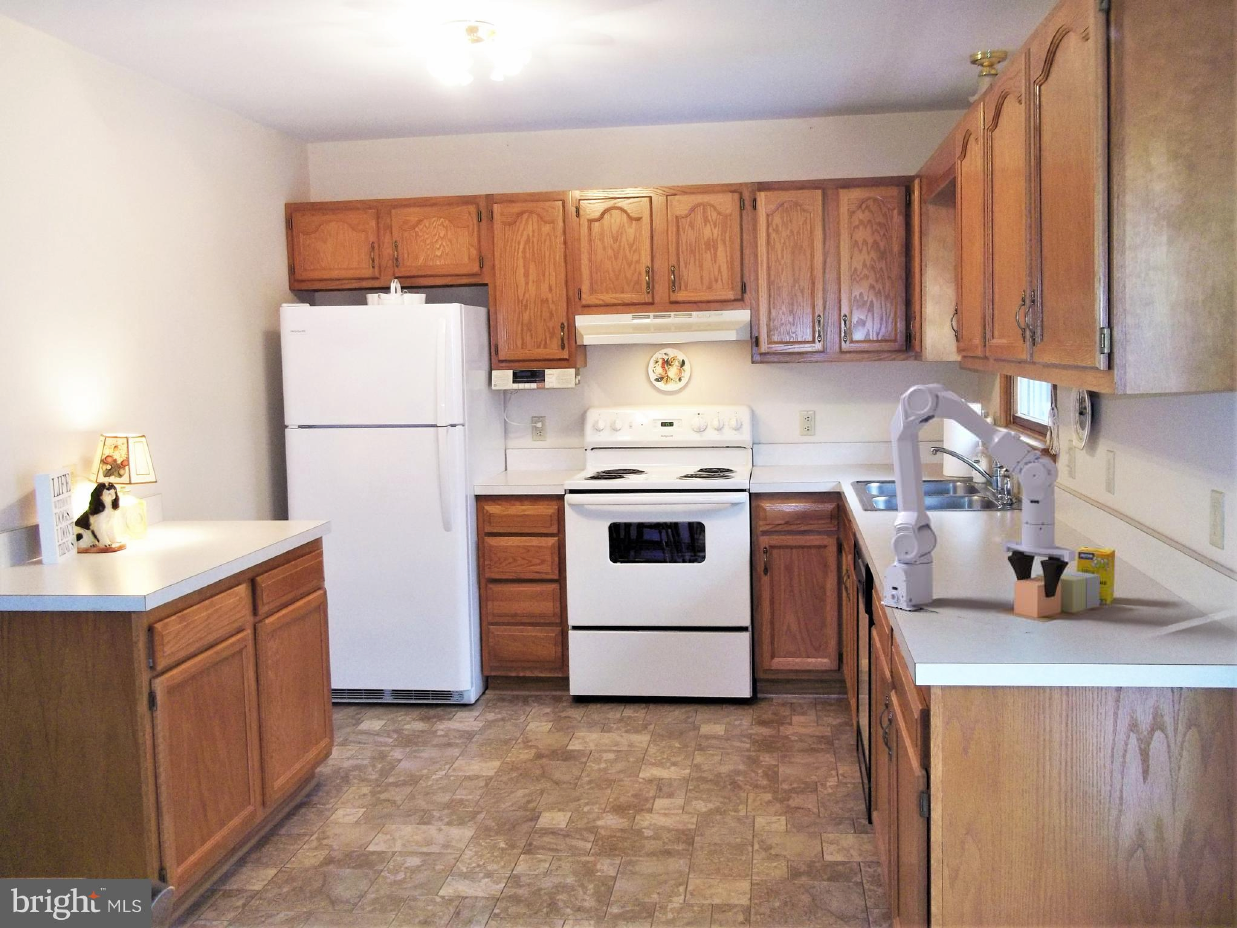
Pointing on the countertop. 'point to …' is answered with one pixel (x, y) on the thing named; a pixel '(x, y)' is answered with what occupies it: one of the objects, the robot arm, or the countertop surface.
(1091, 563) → the supplement box
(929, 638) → the countertop surface
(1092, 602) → the slate book
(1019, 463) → the robot arm
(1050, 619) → the walnut board
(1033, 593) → the terracotta block
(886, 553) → the countertop surface
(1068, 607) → the olive book
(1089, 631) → the countertop surface
